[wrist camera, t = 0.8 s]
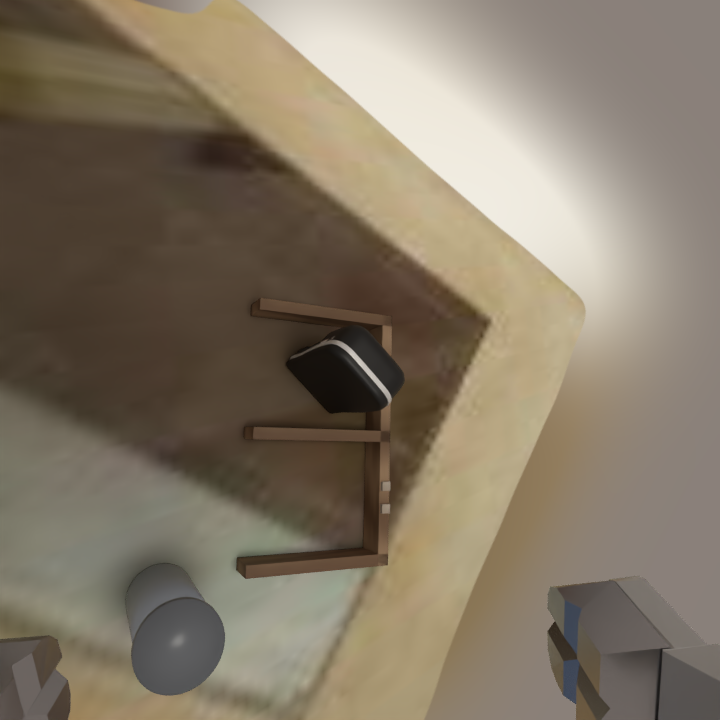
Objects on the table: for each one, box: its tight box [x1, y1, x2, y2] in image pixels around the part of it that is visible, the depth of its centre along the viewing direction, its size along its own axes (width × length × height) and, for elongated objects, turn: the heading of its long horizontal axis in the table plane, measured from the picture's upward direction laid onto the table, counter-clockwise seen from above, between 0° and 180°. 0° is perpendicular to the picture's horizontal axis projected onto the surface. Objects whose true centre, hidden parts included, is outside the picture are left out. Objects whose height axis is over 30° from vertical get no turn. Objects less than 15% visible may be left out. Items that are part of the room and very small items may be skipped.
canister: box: [125, 563, 225, 695], centre depth 37 cm, size 5×5×11 cm
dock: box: [237, 298, 392, 579], centre depth 48 cm, size 23×13×3 cm, turn 177°
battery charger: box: [287, 325, 405, 413], centre depth 45 cm, size 7×4×11 cm, turn 44°
